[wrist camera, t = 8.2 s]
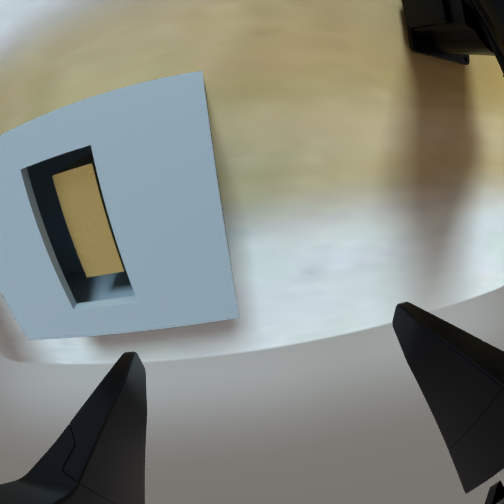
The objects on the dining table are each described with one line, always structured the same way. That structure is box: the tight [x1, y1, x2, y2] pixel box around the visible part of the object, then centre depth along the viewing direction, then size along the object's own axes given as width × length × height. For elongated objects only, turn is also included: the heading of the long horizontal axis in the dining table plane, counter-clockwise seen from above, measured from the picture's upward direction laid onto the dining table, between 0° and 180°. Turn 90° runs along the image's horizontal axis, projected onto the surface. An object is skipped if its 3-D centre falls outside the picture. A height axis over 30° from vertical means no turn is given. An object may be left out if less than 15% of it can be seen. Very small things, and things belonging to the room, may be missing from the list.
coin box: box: [0, 71, 240, 340], centre depth 15 cm, size 14×12×7 cm
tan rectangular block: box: [52, 154, 125, 277], centre depth 16 cm, size 2×6×5 cm, turn 7°
